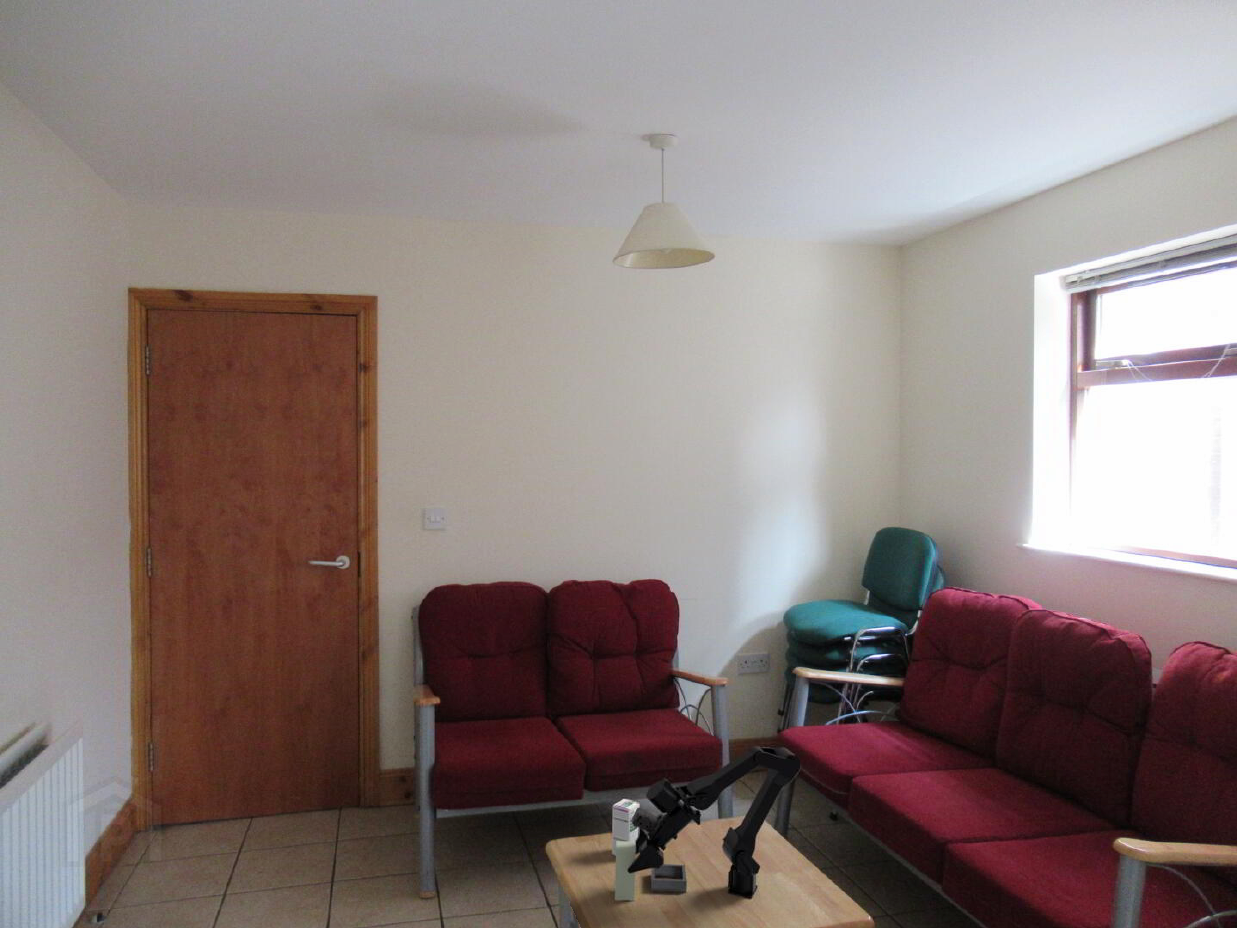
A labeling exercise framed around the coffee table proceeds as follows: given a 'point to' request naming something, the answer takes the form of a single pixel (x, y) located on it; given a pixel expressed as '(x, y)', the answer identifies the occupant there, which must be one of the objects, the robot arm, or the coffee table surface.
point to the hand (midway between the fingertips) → (628, 863)
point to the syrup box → (624, 822)
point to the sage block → (624, 870)
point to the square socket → (669, 884)
